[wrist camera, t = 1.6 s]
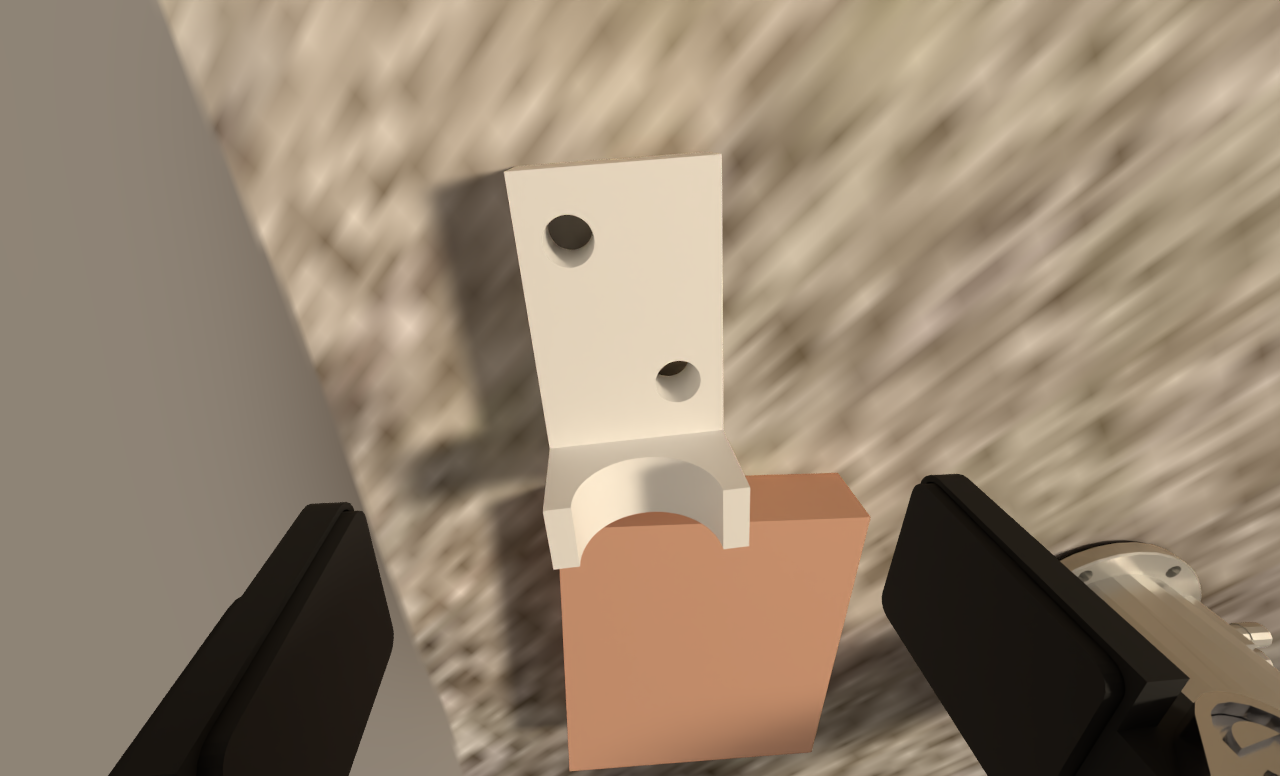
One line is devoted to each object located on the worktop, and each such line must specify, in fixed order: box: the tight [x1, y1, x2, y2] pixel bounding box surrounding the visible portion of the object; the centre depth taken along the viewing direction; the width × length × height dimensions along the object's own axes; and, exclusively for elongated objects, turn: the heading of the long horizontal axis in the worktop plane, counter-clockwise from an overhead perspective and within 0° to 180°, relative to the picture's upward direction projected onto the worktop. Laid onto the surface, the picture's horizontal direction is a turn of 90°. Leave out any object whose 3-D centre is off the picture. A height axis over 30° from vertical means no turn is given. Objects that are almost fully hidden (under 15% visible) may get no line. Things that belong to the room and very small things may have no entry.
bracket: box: [504, 152, 750, 570], centre depth 20 cm, size 13×7×8 cm, turn 4°
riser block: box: [560, 473, 871, 771], centre depth 29 cm, size 14×17×4 cm
